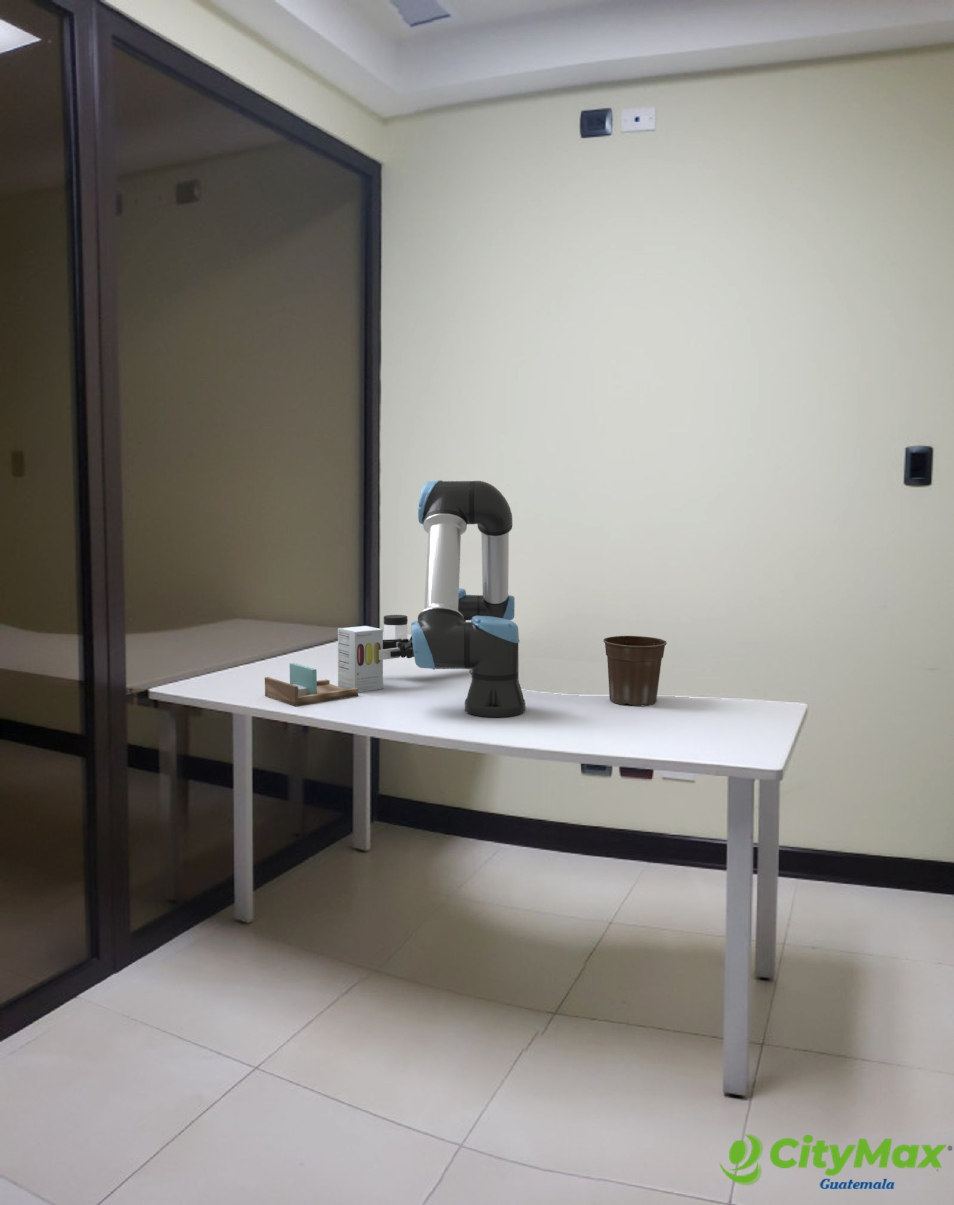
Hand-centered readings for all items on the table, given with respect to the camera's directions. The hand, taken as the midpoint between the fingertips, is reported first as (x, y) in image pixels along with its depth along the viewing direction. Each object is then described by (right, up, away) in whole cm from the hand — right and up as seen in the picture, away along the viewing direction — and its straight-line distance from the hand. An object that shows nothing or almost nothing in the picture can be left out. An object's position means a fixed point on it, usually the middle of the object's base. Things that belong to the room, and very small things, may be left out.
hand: (365, 651), depth 262 cm
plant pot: (+72, -12, -16) cm, 75 cm away
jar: (+3, -3, +60) cm, 60 cm away
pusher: (-16, -10, -13) cm, 23 cm away
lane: (-13, -11, -10) cm, 20 cm away
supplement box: (-1, -10, -1) cm, 10 cm away
